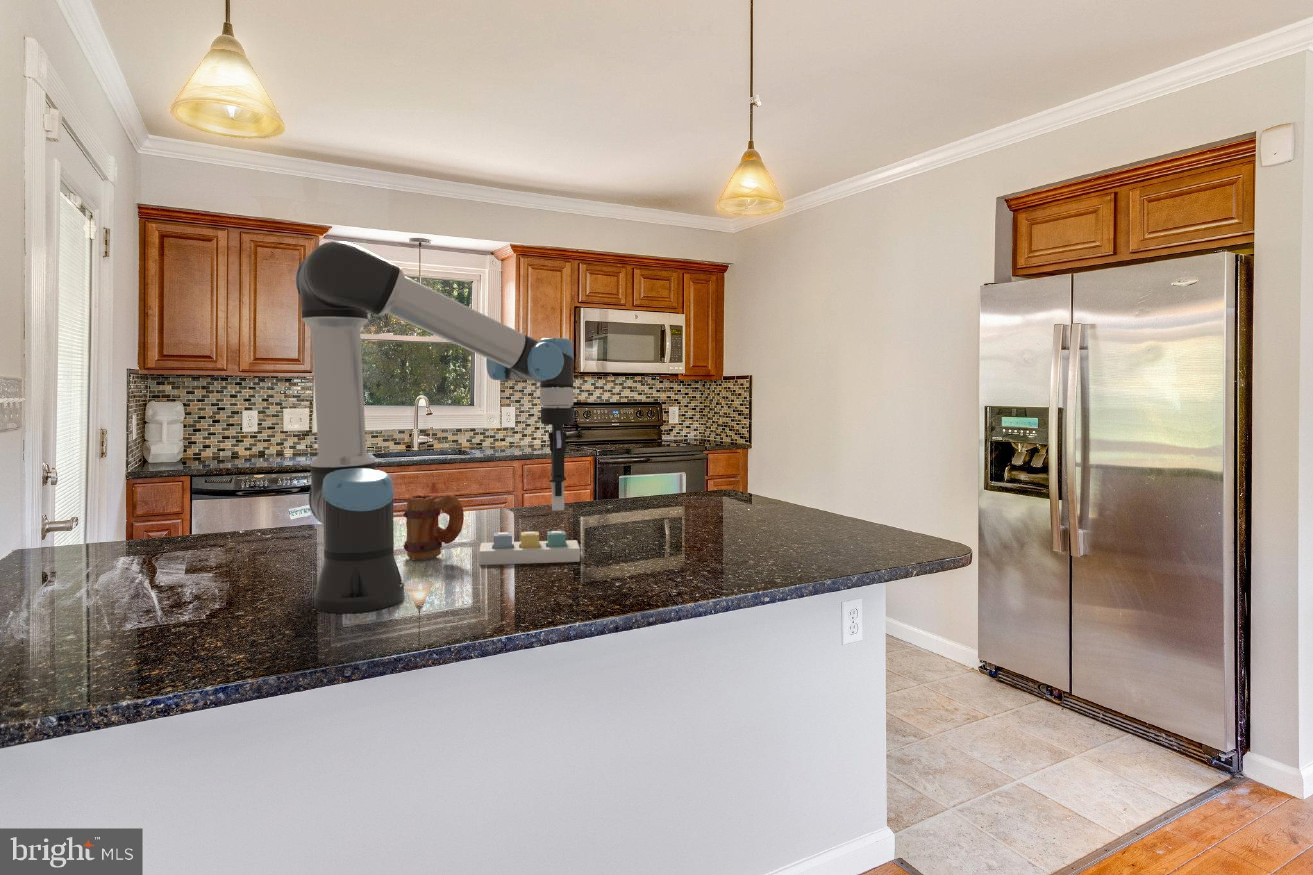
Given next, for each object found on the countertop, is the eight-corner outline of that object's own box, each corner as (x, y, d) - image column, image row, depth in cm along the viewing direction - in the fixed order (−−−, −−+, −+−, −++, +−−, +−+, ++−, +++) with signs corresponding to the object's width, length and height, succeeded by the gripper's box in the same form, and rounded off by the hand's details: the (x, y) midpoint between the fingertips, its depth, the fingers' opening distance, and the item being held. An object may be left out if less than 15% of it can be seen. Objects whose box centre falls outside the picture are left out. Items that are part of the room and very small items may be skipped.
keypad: (479, 564, 158) (479, 551, 158) (481, 555, 167) (481, 542, 167) (579, 561, 162) (579, 548, 162) (576, 552, 171) (576, 540, 171)
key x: (521, 549, 162) (521, 534, 162) (520, 545, 166) (520, 531, 166) (539, 548, 163) (539, 534, 163) (538, 545, 167) (538, 530, 166)
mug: (394, 560, 161) (393, 494, 160) (416, 553, 169) (415, 489, 168) (451, 566, 157) (450, 497, 156) (471, 558, 164) (471, 492, 163)
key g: (548, 548, 163) (548, 533, 163) (547, 544, 167) (547, 530, 167) (565, 548, 164) (565, 533, 164) (564, 544, 168) (564, 530, 168)
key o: (493, 550, 161) (493, 535, 161) (494, 546, 165) (494, 531, 164) (511, 549, 162) (511, 534, 161) (511, 545, 165) (511, 531, 165)
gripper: (576, 407, 158) (576, 514, 159) (571, 406, 171) (572, 504, 172) (541, 407, 156) (542, 515, 158) (539, 406, 169) (540, 505, 171)
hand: (558, 509), depth 165 cm, fingers closed
